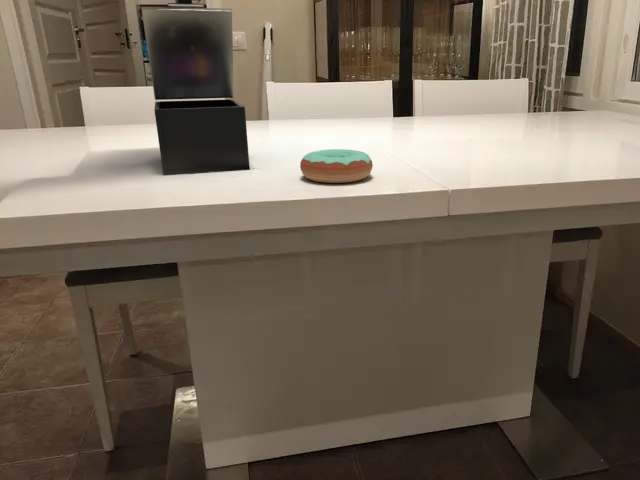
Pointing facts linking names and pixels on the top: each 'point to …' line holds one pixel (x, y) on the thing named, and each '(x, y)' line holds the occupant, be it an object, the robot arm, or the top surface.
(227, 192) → the top surface
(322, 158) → the donut
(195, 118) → the trash bin
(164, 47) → the bin lid
